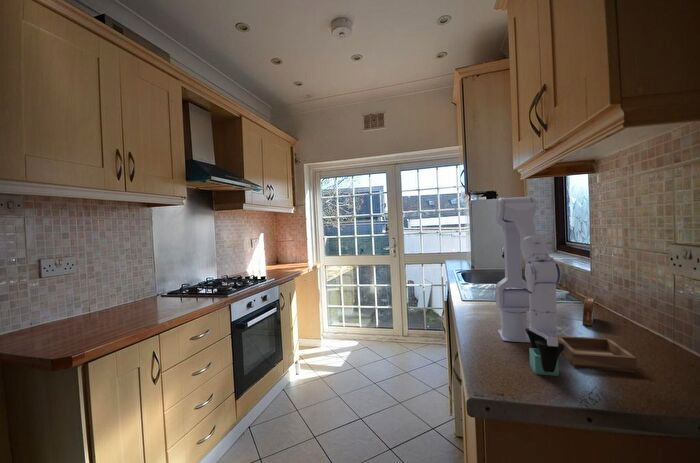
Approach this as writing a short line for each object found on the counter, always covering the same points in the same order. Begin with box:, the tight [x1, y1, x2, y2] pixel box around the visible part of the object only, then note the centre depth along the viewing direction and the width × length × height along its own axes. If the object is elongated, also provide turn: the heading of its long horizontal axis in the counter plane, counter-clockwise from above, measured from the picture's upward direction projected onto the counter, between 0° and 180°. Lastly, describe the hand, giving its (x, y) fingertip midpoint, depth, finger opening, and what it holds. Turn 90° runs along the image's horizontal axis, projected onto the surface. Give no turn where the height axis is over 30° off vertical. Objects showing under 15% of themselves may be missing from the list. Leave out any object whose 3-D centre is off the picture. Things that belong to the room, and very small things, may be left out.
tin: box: [582, 296, 596, 327], centre depth 114 cm, size 15×3×8 cm, turn 141°
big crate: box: [557, 335, 638, 374], centre depth 85 cm, size 13×13×4 cm
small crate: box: [528, 347, 560, 377], centre depth 80 cm, size 5×5×4 cm
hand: (543, 364), depth 80 cm, fingers open, 7 cm apart
